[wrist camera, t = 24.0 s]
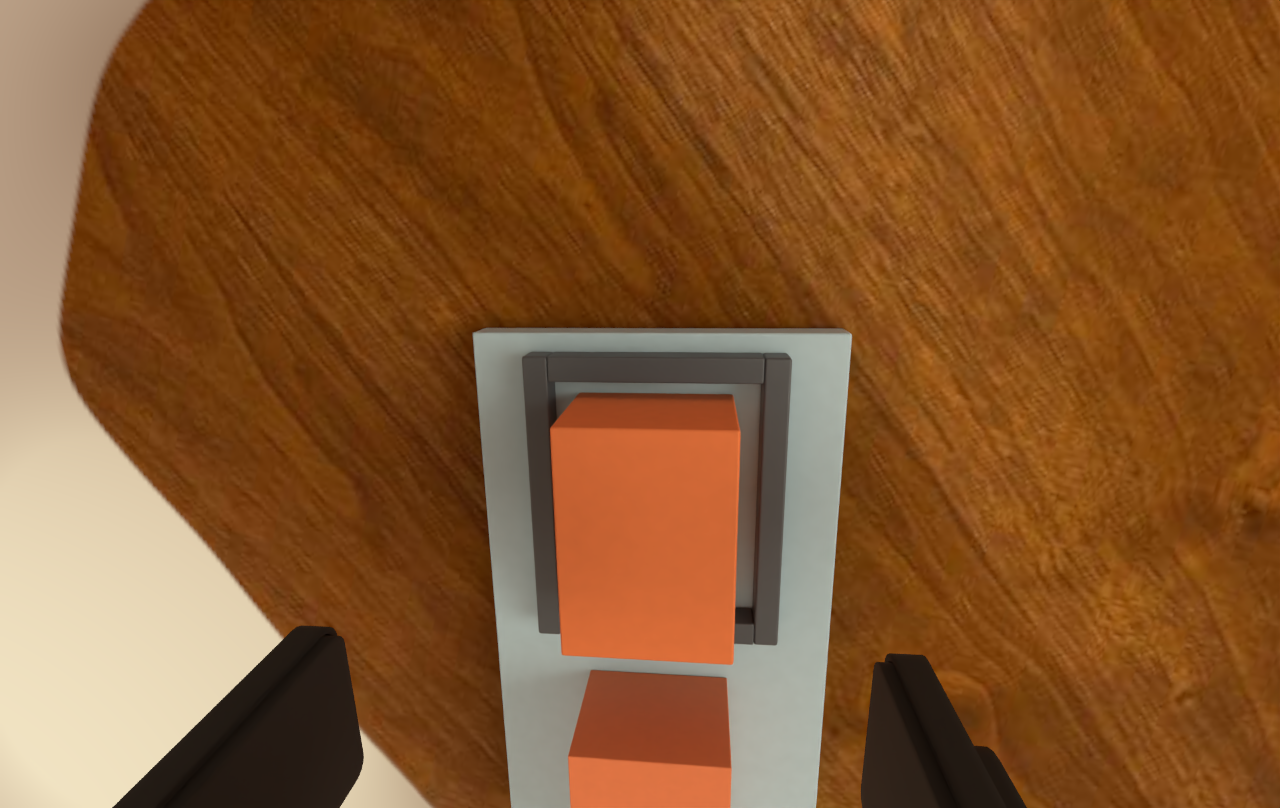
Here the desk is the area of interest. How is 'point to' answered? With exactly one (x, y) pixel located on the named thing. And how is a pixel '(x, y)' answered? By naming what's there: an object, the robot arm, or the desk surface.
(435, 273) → the desk surface
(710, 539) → the orange rectangular block
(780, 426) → the gray fixture board
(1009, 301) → the desk surface
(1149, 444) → the desk surface
